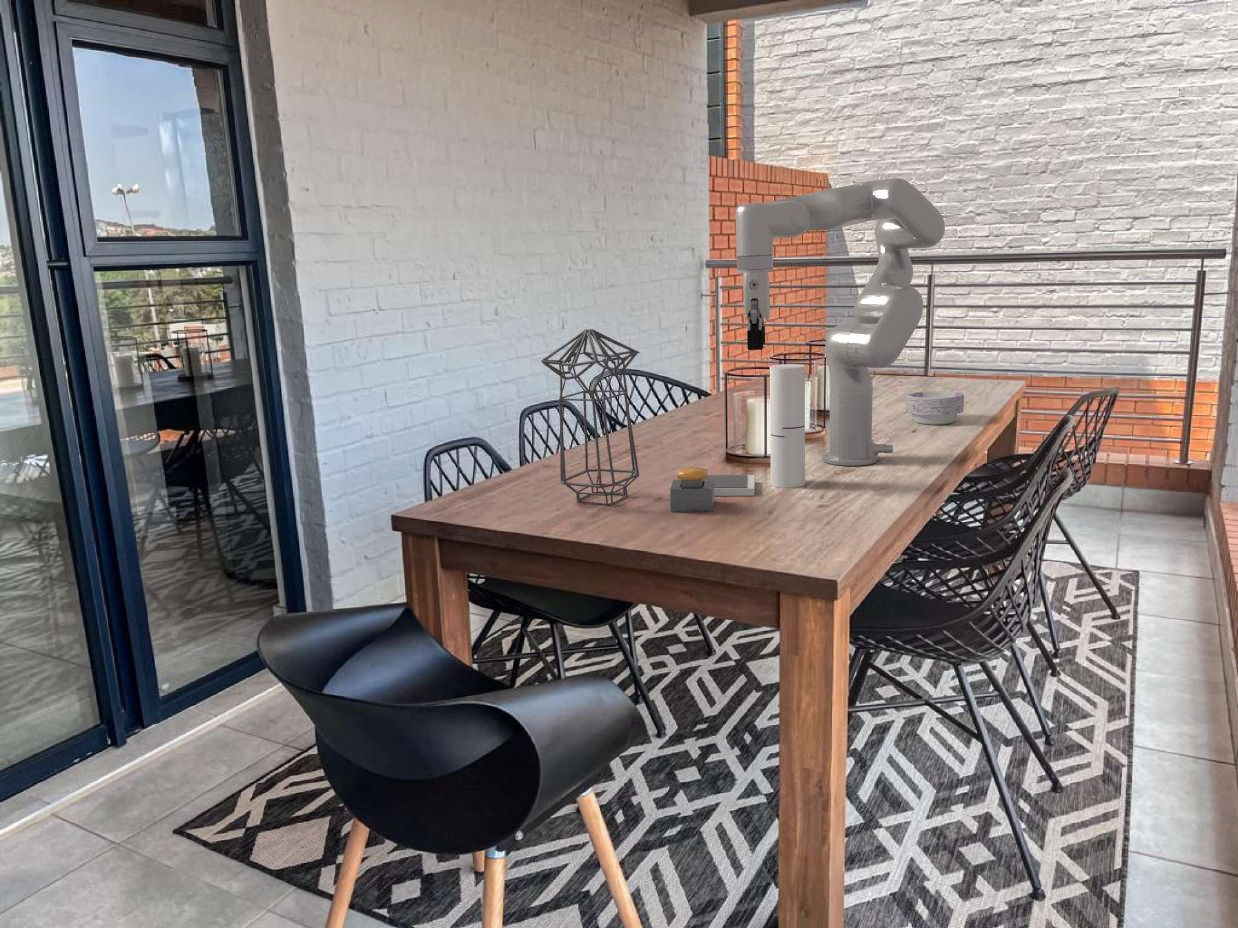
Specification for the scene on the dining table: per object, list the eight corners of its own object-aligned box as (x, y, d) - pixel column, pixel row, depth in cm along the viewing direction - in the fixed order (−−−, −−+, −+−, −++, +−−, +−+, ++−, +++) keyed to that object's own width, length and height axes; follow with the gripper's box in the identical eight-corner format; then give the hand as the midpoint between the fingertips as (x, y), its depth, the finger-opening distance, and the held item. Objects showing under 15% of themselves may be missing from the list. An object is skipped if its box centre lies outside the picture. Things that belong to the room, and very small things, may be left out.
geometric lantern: (613, 512, 188) (600, 332, 180) (548, 506, 196) (533, 334, 189) (653, 493, 201) (642, 324, 193) (590, 487, 209) (578, 326, 202)
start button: (708, 492, 192) (708, 467, 191) (707, 500, 186) (706, 474, 185) (678, 492, 193) (677, 467, 192) (676, 500, 187) (675, 474, 186)
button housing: (714, 500, 193) (713, 479, 192) (712, 511, 186) (711, 488, 185) (674, 501, 194) (673, 479, 193) (670, 511, 187) (670, 489, 186)
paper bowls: (907, 417, 276) (908, 389, 274) (964, 418, 270) (965, 390, 269) (902, 426, 262) (903, 397, 260) (962, 428, 257) (963, 398, 255)
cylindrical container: (804, 488, 200) (804, 368, 195) (769, 487, 202) (768, 368, 197) (805, 479, 207) (805, 363, 202) (771, 479, 209) (770, 364, 203)
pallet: (754, 481, 208) (754, 474, 207) (754, 495, 196) (754, 487, 196) (689, 482, 210) (689, 474, 209) (685, 496, 198) (685, 488, 198)
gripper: (771, 265, 191) (773, 351, 195) (774, 262, 208) (775, 342, 211) (733, 266, 193) (735, 352, 196) (739, 264, 209) (741, 343, 213)
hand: (756, 347), depth 204 cm, fingers open, 9 cm apart
